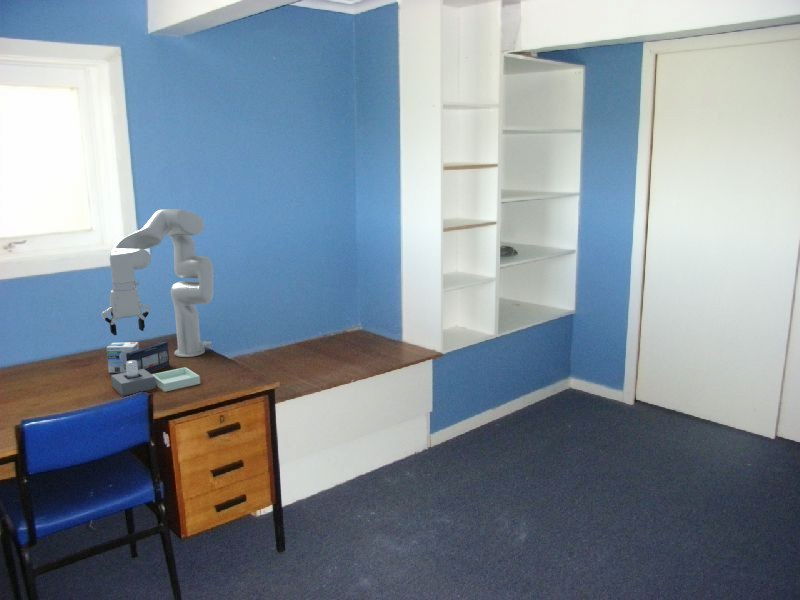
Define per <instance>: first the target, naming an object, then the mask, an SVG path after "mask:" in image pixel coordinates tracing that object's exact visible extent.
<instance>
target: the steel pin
mask: <svg viewBox="0 0 800 600" xmlns="http://www.w3.org/2000/svg"><path fill="white" fill-rule="evenodd" d="M126 371H127V379H133V378H137V377H139V374H138V364H137V361H136V360H131V361H127V362H126Z"/></svg>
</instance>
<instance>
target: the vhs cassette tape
mask: <svg viewBox="0 0 800 600" xmlns="http://www.w3.org/2000/svg"><path fill="white" fill-rule="evenodd" d="M169 354H170V353H169V344H168V342H166V341H163V342H159V343H156V344H151V345H149V346H147V347H142V348H139V350H136V351H133V352H130V353H126V358H127V361H131V360H136V361H137V364H138V370H140V369H145V370H146V371H148V372H149V373H150V374H151V373H152V371H153V372H155V370H156V371H157V369H158V370H161V369H164V368H167V367H169V366H170V357H169ZM166 366H167V367H166ZM163 367H164V368H163ZM160 368H161V369H160Z"/></svg>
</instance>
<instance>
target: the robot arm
mask: <svg viewBox="0 0 800 600" xmlns="http://www.w3.org/2000/svg"><path fill="white" fill-rule="evenodd" d="M204 227H205V222H204V220H203V218H202V216H201V215H199V214H197V213H193V212H191V211H188V210H186V209H185V210H184V209H179V208H178V209H176V208H175V209H173V208H172V209H171V208H169V209H168V208H166V209H164V208H163V209H158V210H156V211H155V212H154V213H153V215H152V216H151V217H150V218H149V220H147V222H146V223H145V225H143V227H142V228H141V229H139V230H136V231H135V232H133V233H131V234H129V235H127V236H124V237H123V238H122V239H120V240H119V241H118V242H117V243H116V245H115V246H114V247H113V248H112V250H111V251H110V255H109V261H110V263H109V264H110V273H111V282H112V284H111V285H112V290H110V293H109V307H108V308H107V309H105V310H103V311H102V312H101V313H100V316H101V317H102V318H103V320H104V321H106V322H107V323H108V324H109V329H110V333H111V334H112V335H113V336H117V335H118V333H117V325H116V322H117V320H118V319H119V320H121V319H127V318H131V317H132V318H133V317H138V319H137V320H138V321H137V323H138V330H140V331H141V332H144V331H145V330H144V329H146V327H145V326H146V325H145V320H146V318H147V316H149V313H150V311H151V306H149V305H147V304H143V303H141V298H140V294H139V291H138V288H137V286H139V284H140V282H139V281H136V280H135V272H134V271H135V270H145V269H146V268H148V267H149V265H150V264H151V262H152V257H151V253H150V252H149V251H147V249H151V248H154V247H157V246H159V245H160V244H162V242H163V240H164V239H165V238H166V236H167V235H168V237H169V238H170V240H171V242H172V244H173V262H174V263H173V267H174V273H175V276H177V277H178V278H181V279H182V278H183V279H198V281H187V280H182V281H177V282H175V283H173V284H172V285H171V288H170V297H171V300H172V303H173V310H174V317H175V329H176V331H175V332H176V342H177V349H176V350H174V353H173V354H174V356H176V357H180V358H191V357H197V356H200V355H203V354H205V352H206V350H205V348H206V347H211V346H212V345H213V344H212V341H206V340H204V341H201V330H200V317H199V311H198V308H197V307H196V306H195V305H208V304H210V303H212V301H213V298H214V265H213V262H212V260H211V259H210V257H207V256H205V255H196V248H195V247H196V244H195V241H194V239H193V238H192V236H200V235H201V234H202V233H203V231H204ZM142 309H144V311H143V313H142ZM107 315H110V316H111V317H110V318H109V317H108V316H107Z"/></svg>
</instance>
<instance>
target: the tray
mask: <svg viewBox="0 0 800 600" xmlns="http://www.w3.org/2000/svg"><path fill="white" fill-rule="evenodd" d="M151 374H152V375H153V376H155V385H156V386H157V387H158V388H159V389H160V390H161V391H163V392H168V391H169V392H170V391H173V390H179V389H183V388H186V387H191V386H195V385H200V384H201V376H200V375H199V374H197V373H196V372H194V371H192V370H191V369H189V368H188V367H180V368H176V369H171V370H170V369H169V370H166V371H162V372H156V373H151Z"/></svg>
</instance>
